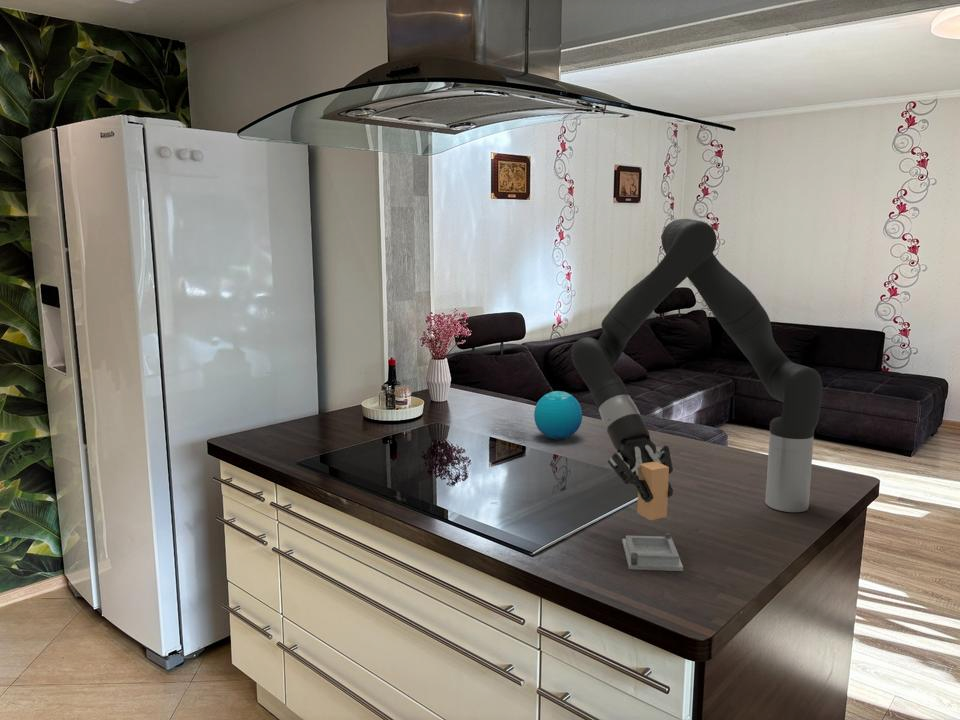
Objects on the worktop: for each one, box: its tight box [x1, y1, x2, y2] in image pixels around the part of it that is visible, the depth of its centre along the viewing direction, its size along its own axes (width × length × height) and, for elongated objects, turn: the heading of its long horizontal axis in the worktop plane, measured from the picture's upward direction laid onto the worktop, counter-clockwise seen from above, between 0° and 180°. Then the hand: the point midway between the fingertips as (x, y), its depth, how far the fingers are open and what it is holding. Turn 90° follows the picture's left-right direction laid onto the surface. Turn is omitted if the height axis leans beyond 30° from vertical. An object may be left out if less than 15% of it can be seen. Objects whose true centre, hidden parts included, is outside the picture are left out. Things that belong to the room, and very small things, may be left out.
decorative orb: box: [533, 390, 583, 440], centre depth 219 cm, size 15×15×15 cm
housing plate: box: [621, 532, 684, 572], centre depth 138 cm, size 12×10×3 cm
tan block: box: [636, 462, 670, 521], centre depth 136 cm, size 4×4×10 cm
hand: (659, 498), depth 135 cm, fingers closed on tan block, 4 cm apart
